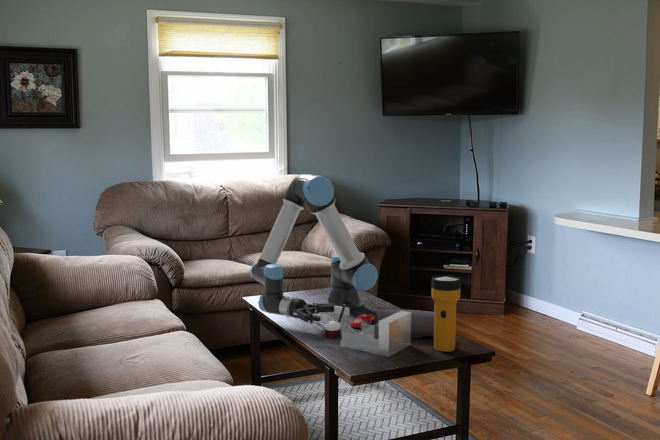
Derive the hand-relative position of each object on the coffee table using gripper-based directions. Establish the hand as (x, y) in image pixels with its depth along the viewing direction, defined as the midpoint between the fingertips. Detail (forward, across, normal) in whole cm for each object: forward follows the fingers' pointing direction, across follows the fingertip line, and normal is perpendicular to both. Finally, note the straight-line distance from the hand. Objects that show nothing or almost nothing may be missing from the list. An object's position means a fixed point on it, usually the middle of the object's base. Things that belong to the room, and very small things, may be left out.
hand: (339, 315), depth 254 cm
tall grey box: (+18, 0, -6) cm, 19 cm away
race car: (-2, -20, -9) cm, 22 cm away
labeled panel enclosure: (+16, 0, -8) cm, 18 cm away
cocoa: (-2, +1, -9) cm, 9 cm away
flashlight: (+38, -11, -9) cm, 40 cm away
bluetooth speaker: (+20, -17, -9) cm, 28 cm away
